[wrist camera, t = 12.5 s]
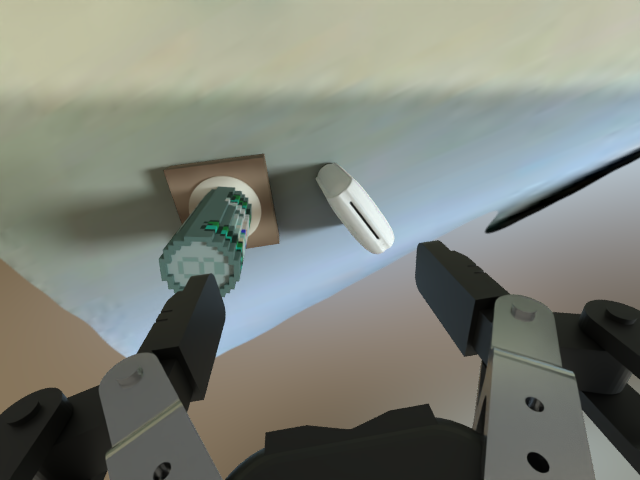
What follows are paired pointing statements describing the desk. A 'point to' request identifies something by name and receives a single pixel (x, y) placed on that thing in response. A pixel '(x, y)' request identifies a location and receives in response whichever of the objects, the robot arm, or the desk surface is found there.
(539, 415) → the robot arm
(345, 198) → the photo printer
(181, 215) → the base
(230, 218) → the can
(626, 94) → the desk surface
